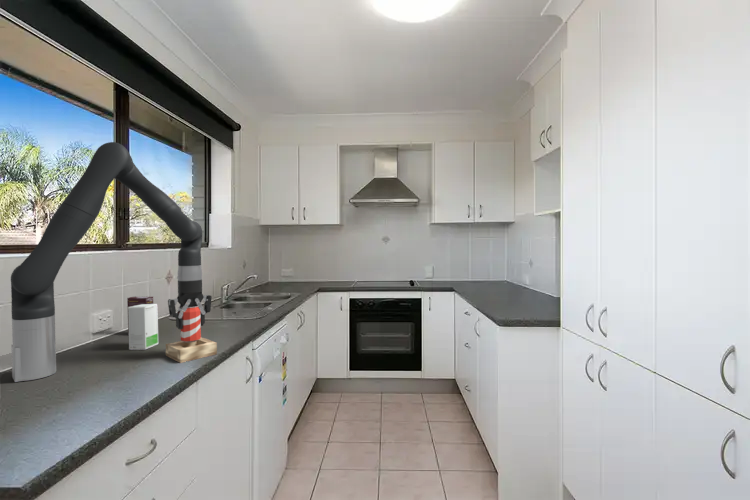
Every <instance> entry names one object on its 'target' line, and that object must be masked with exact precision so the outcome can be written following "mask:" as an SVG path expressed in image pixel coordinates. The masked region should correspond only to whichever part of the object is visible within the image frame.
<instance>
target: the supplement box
mask: <svg viewBox="0 0 750 500" xmlns="http://www.w3.org/2000/svg"><path fill="white" fill-rule="evenodd" d="M126 300H127V308H128V307H131V306H136V305H141V304H154V296H130V297H127V299H126ZM127 334H128V336H129V320H128V319H127Z"/></svg>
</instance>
